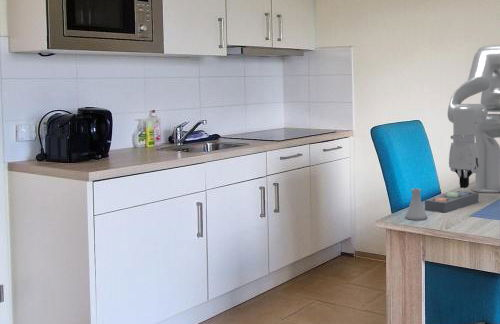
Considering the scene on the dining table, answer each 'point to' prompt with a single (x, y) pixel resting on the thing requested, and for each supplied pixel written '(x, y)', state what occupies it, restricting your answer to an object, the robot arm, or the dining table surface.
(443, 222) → the dining table surface
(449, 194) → the sage button
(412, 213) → the flask
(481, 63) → the robot arm
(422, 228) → the dining table surface
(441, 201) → the terracotta button
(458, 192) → the slate button
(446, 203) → the console
